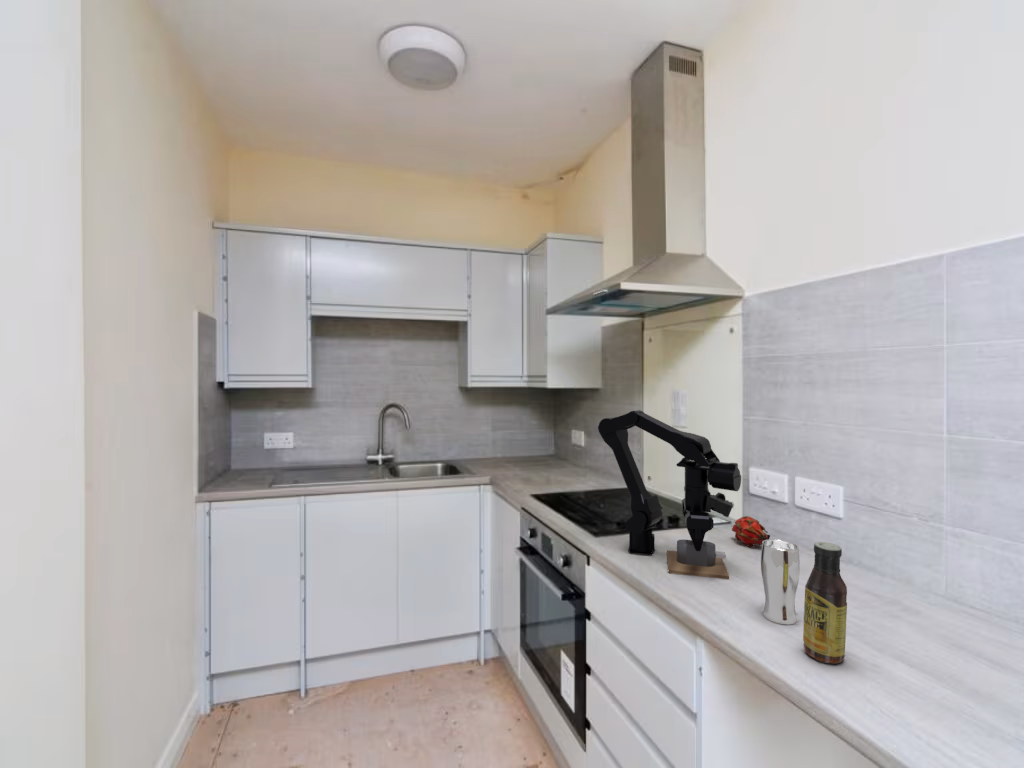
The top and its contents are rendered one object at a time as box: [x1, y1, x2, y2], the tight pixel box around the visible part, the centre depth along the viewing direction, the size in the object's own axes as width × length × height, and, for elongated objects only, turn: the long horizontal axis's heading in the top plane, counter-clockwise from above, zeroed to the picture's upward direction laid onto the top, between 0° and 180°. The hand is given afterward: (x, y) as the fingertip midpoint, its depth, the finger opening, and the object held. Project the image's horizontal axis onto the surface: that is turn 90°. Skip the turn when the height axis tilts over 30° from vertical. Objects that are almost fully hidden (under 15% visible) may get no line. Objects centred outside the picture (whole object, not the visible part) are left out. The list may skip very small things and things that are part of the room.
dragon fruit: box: [731, 515, 771, 549], centre depth 140 cm, size 8×8×12 cm
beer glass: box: [760, 538, 801, 626], centre depth 98 cm, size 7×7×15 cm
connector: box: [676, 539, 727, 567], centre depth 124 cm, size 12×4×5 cm, turn 74°
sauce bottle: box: [802, 541, 848, 665], centre depth 84 cm, size 6×6×20 cm
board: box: [666, 549, 730, 580], centre depth 125 cm, size 14×14×1 cm
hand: (696, 544), depth 125 cm, fingers open, 9 cm apart
